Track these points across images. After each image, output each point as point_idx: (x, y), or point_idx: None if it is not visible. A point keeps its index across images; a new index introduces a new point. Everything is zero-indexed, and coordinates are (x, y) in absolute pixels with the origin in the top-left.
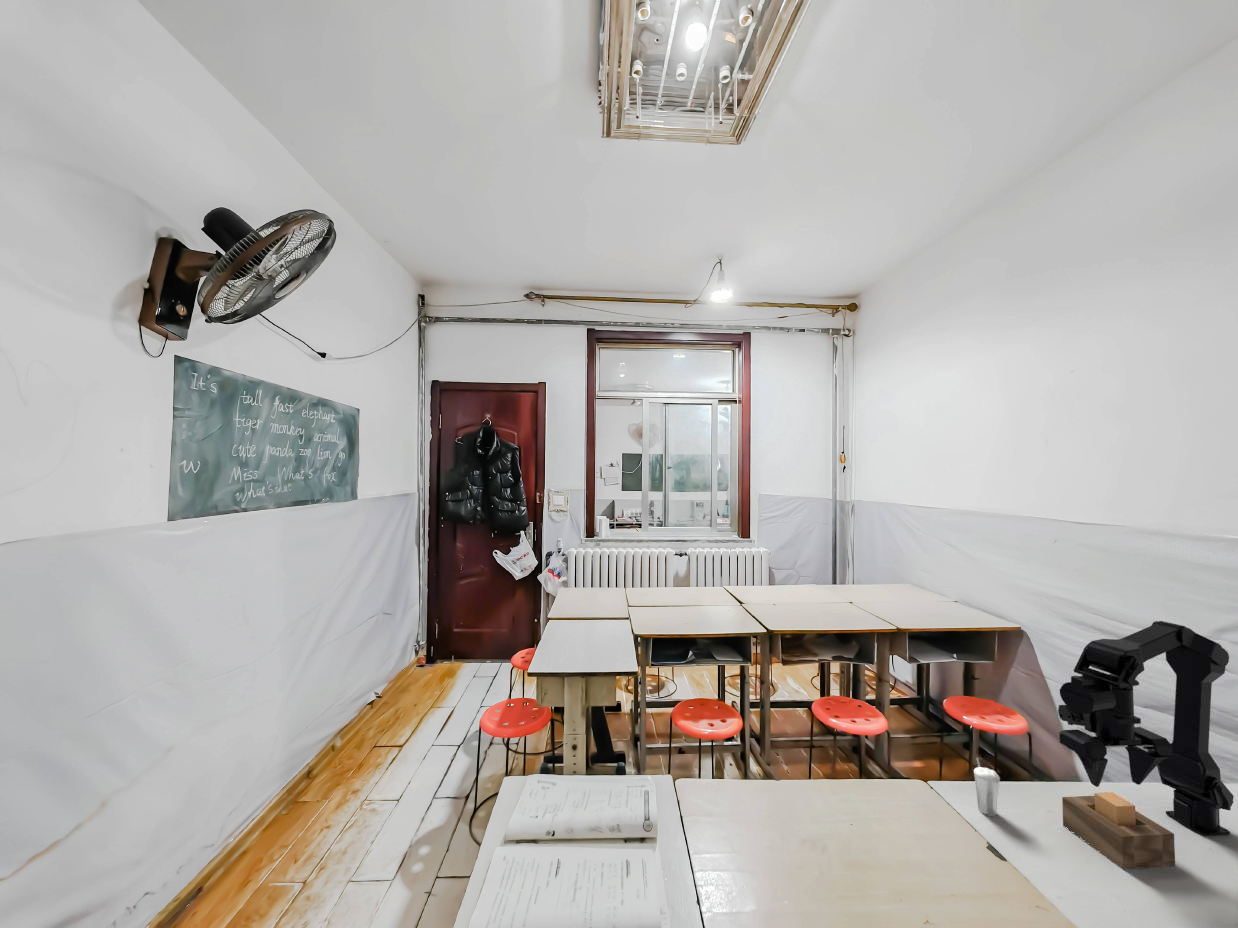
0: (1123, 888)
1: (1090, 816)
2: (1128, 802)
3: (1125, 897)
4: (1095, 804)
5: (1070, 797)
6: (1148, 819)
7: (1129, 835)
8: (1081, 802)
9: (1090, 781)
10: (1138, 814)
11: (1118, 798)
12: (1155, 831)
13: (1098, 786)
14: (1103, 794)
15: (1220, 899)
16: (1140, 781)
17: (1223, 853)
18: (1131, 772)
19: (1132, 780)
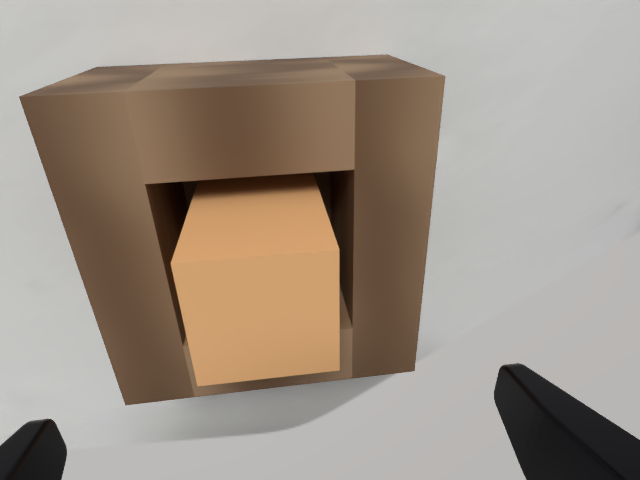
0: (79, 374)
1: (84, 279)
2: (330, 344)
3: (54, 401)
4: (184, 224)
5: (89, 103)
6: (411, 293)
7: (176, 394)
8: (133, 160)
9: (14, 433)
10: (404, 259)
11: (301, 315)
12: (340, 365)
13: (65, 455)
14: (229, 278)
15: (354, 385)
16: (513, 441)
17: (627, 229)
18: (552, 429)
19: (505, 370)
